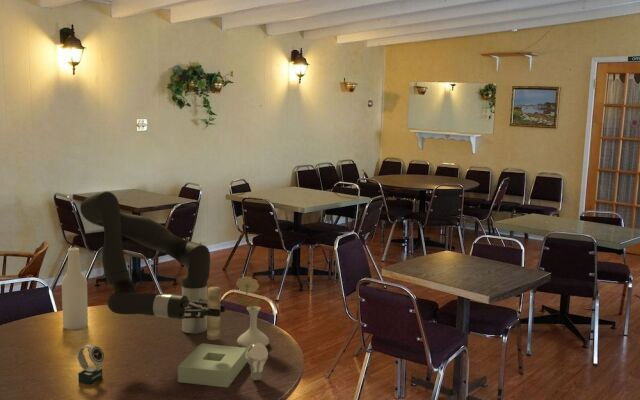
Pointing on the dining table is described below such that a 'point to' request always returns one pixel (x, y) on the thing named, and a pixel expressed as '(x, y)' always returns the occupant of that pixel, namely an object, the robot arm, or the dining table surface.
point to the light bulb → (256, 359)
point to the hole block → (212, 365)
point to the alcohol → (74, 294)
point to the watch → (90, 373)
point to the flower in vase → (252, 333)
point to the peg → (213, 321)
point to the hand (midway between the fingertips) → (222, 310)
